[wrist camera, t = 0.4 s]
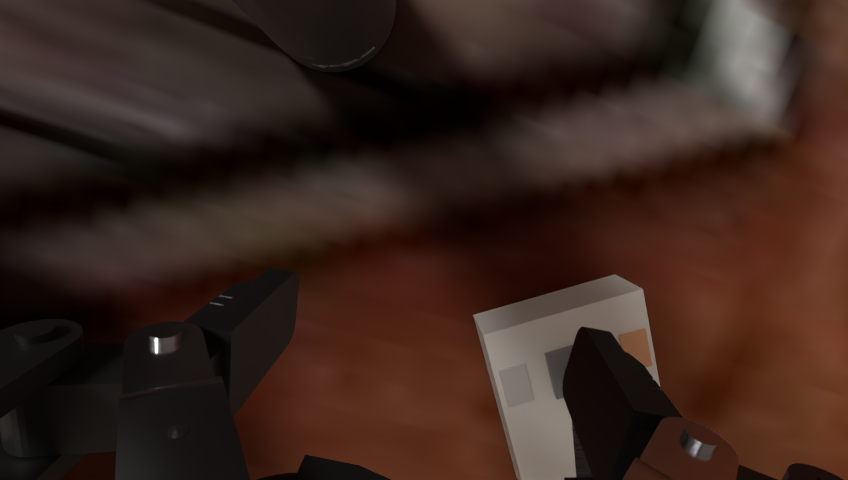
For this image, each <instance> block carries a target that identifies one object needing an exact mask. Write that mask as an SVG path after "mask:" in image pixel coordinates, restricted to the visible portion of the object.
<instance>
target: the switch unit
mask: <svg viewBox="0 0 848 480" xmlns="http://www.w3.org/2000/svg"><path fill="white" fill-rule="evenodd" d="M473 316H474V320H475V324H476V328H477V331H478V335H479V339H480V343H481V346H482V350H483V354H484V358H485V361H486V365H487V369H488V372H489V376H490V380H491V384H492V387H493V391H494V395H495V399H496V402H497V406H498V410H499V414H500V417H501V421H502V425H503V429H504V432H505V436H506V440H507V443H508V447H509V451H510V455H511V458H512V462H513V466H514V470H515V473H516V477H517V480H564V477H576V467H575V455H574V443H573V431H572V419H571V417H570V414H569V411H568V408H567V406H566V403H565V400H564V397H563V389H562V387H563V377H564V373H565V370H566V367H567V363H568V360H569V357H570V353H571V350H572V347H573V344H574V340H575V337H576V334H577V332H578V330H579V329H580V328H581V327H588V328H594V329H599V330H604V331H610V332H611V333H612V334H613V336H614V337H615V339H616V340H617V342H618V343H619V344H620V346H621V347H622V349H623V350H624V352H627V353H629V354H630V355H632V356H633V357H634V358H635V359H637V360H638V361H639V362H641V363H642V364H643V365H644V366H645V367H646V369H647V370H648V371H649V373H650V374H651V376H652V377H653V380H655V381H656V382H657V384H658V385H659V386H660V382H659V377H658V371H657V366H656V360H655V354H654V349H653V343H652V338H651V332H650V326H649V321H648V315H647V310H646V304H645V298H644V293H643V289H642V288H640V287H638V286H636V285H634V284H632V283H631V282H629V281H627V280H625V279H623V278H621V277H619V276H617V275H615V274H614V275H610V276H607V277H603V278H600V279H596V280H593V281H589V282H586V283H582V284H579V285H575V286H572V287H568V288H565V289H561V290H558V291H555V292H551V293H548V294H544V295H541V296H537V297H534V298H530V299H527V300H523V301H520V302H516V303H513V304H509V305H506V306H502V307H499V308H495V309H492V310H488V311H485V312H481V313H478V314H474V315H473Z"/></svg>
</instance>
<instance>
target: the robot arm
mask: <svg viewBox="0 0 848 480" xmlns="http://www.w3.org/2000/svg"><path fill="white" fill-rule="evenodd" d="M232 1H233V2H234V3H235V4H236V5H237V6H238V7H239V8H240V9H241V10H242V11H243V12H245V13H246V14H247V15H248V16H249V17H250V18H251V19H252V20H253V21H254V22H255V23H256V24H257V25H258V26H259V27H260V28H261V29H262V30H263V31H264V32H265V33H266V34H267V35H268V36H269V37H270V38H271V39H272V40H273V41H274V42H275V43H276V44H277V45H278V46H279V47H280V48H281V49H282V50H283V51H284V52H285V53H287V54H288V55H289V56H290V57H291V58H293V59H294V60H295V61H297V62H299V63H300V64H302V65H304V66H306V67H308V68H311V69H315V70H318V71H322V72H342V71H348V70H351V69H354V68H356V67H359V66H361V65H363V64H365V63H366V62H367V61H369V60H370V59H372V58H373V57H374V56H375V55H376V54H377V53H378V52H379V51H380V50H381V48H382V47H383V46H384V44H385V42H386V41H387V39H388V37H389V36H390V33H391V30H392V27H393V24H394V21H395V13H396V0H232ZM298 286H299V276H298V273H297V272H292V271H287V270H281V269H276V268H269V269H268V270H266V271H265V272H264V273H263V274H261V275H260V276H259V277H258V278H256V279H255V280H254V281H249V280H248V281H245V282H242V283H239V284H236V285H233V286H231V287H229V288H228V289H227V290H225V291H224V292H223V293H221V294H220V296H217V297H216V298H215V299H213V300H212V301H211V303H210V304H209V303H208V304H207V305H205V306H204V307H203V308H201V309H200V310H199V311H197V312H196V313H195V314H193V315H192V316H191V317H189V318H188V319H187V320H185V321H184V322H161V323H155V324H151V325H148V326H144V327H142V328H140V329H138V330H136V331H134V332H133V333H131V334H130V335H129V336H128V337H127V338H126V340H125V343H124V344H84V341H83V329H82V327H81V326H80V325H79V324H78V323H76V322H73V321H70V320H64V319H43V320H35V321H29V322H24V323H20V324H17V325H13V326H11V327H8V328H5V329H3V330H1V331H0V432H1V437H0V480H60V479H62V478H63V477H64V476H65V475H66V474H67V473H68V472H69V471H70V470H71V469H72V468H73V467H74V466H75V465H76V464H77V463H78V462H79V461H80V460H81V459H82V458H83V457H84V456H85V454H87V453H103V452H116V468H115V480H250V478H249V474H248V471H247V467H246V463H245V460H244V456H243V452H242V449H241V445H240V441H239V438H238V434H237V430H236V427H235V423H234V419H233V417H234V416H235V414H236V413H237V412H238V410H239V409H240V408H241V406H242V405H243V404H244V402H245V401H246V400H247V398H248V397H249V396H250V394H251V393H252V392H253V390H254V389H255V388H256V386H257V385H258V384H259V382H260V381H261V380H262V379H263V377H264V376H265V375H266V373H267V372H268V371H269V369H270V368H271V367H272V365H273V364H274V363H275V361H276V360H277V359H278V357H279V356H280V355H281V353H282V352H283V351H284V349H285V348H286V347H287V345H288V344H289V342H290V340H291V338H292V335H293V332H294V328H295V321H296V309H297V298H298ZM562 389H563V397H564V400H565V403H566V406H567V408H568V411H569V414H570V417H571V419H572V422H573V425H574V427H575V430H576V433H577V435H578V438H579V441H580V444H581V446H582V449H583V452H584V454H585V457H586V460H587V463H588V465H589V468H590V471H591V473H592V476H593V479H594V480H777V479H774V478H772V477H769V476H767V475H764V474H762V473H759V472H756V471H754V470H751V469H749V468H746V467H744V466H741V465H739V458H738V455H737V453H736V452H735V450H734V449H733V448H732V447H731V445H730V444H729V443H728V442H726V441H725V440H724V439H723V438H722V437H720V436H719V435H718V434H716V433H715V432H713V431H712V430H710V429H708V428H706V427H705V426H703V425H700V424H698V423H696V422H693V421H691V420H688V419H684V418H683V417H682V416H681V415H680V413H679V412H678V411H677V409H676V408H675V407H674V405H673V404H672V403H671V401H670V400H669V399H668V397H667V396H666V394H665V393H664V392H663V391H662V390H661V388H660V386H659V385H658V384H657V382H656V381H655V380H653V377H652V376H651V374H650V373H649V371H648V370H647V369H646V367H645V366H644V365H643V364H642V363H641V362H639V361H638V360H637V359H635V358H634V357H633V356H632V355H630V354H629V353H627V352H624V350H623V349H622V347H621V346H620V344H619V343H618V342H617V340H616V339H615V337H614V336H613V334H612V333H611V332H610V331H604V330H599V329H594V328H588V327H581V328H580V329H579V330H578V332H577V334H576V337H575V340H574V344H573V347H572V350H571V353H570V357H569V360H568V363H567V367H566V370H565V373H564V377H563V387H562ZM258 480H390V479H388V478H386V477H384V476H381V475H379V474H377V473H375V472H372V471H370V470H368V469H366V468H363V467H361V466H359V465H354V464H349V463H344V462H339V461H334V460H329V459H324V458H319V457H314V456H309V455H305V457H304V459H303V461H302V463H301V466H300V468H299V470H298V472H297V473H286V474H278V475H273V476H269V477H264V478H261V479H258ZM782 480H843V479H841V478H840V477H838V476H836V475H834V474H832V473H830V472H827V471H825V470H823V469H820V468H817V467H814V466H811V465H807V464H798V463H796V464H792V465H790V466H789V467H788V469H787V471H786V473H785V475H784V476H783V478H782Z"/></svg>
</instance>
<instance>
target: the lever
mask: <svg viewBox="0 0 848 480" xmlns="http://www.w3.org/2000/svg"><path fill="white" fill-rule="evenodd" d="M572 431H573V443H574V455H575V467H576V477H564V480H594V479H593V476H592V473H591V471H590V468H589V465H588V463H587V460H586V457H585V454H584V452H583V449H582V446H581V444H580V441H579V438H578V435H577V433H576V430H575V427H574V425H573V422H572Z"/></svg>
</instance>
